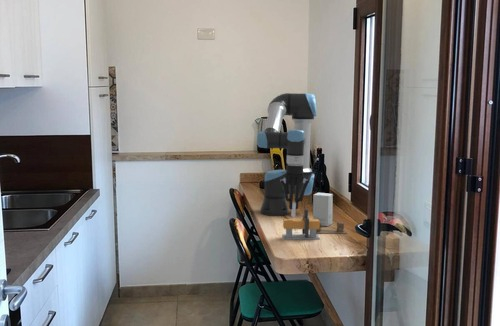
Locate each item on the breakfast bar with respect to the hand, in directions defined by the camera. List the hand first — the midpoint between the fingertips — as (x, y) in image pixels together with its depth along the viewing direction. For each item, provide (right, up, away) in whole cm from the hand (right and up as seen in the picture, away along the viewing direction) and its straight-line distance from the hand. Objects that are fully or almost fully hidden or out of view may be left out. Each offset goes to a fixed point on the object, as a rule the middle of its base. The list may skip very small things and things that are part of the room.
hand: (293, 216), depth 233 cm
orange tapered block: (+4, -5, +1) cm, 7 cm away
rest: (+18, -9, +12) cm, 23 cm away
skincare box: (+17, -7, +26) cm, 31 cm away
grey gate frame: (+6, -10, +2) cm, 11 cm away
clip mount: (+4, -10, +2) cm, 11 cm away
